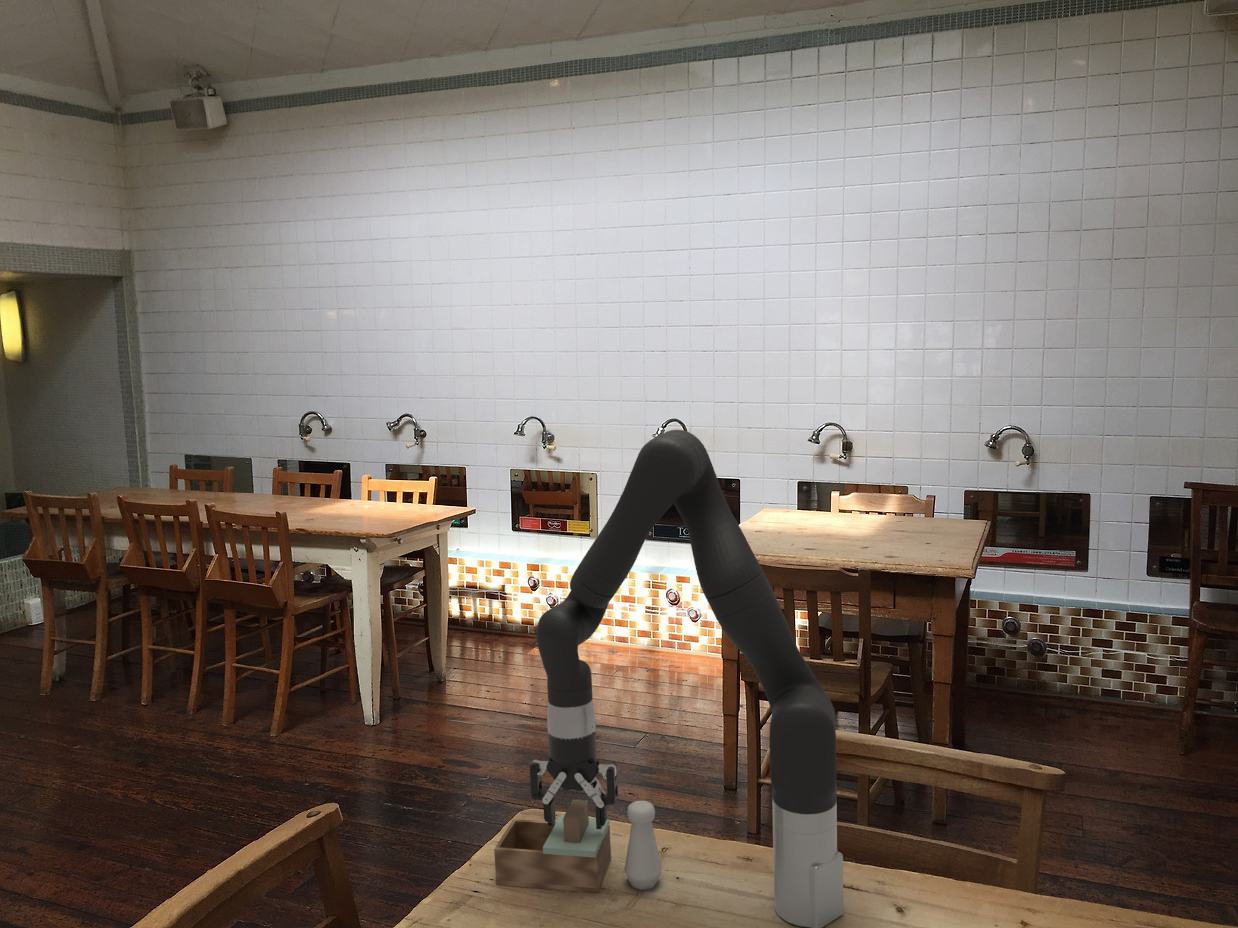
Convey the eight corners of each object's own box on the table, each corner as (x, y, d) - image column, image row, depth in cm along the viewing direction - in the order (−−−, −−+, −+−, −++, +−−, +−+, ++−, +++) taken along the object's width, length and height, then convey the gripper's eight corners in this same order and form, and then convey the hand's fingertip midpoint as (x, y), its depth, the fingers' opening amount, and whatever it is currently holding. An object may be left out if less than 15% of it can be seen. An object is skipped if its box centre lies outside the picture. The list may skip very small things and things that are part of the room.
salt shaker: (647, 897, 144) (644, 817, 142) (617, 885, 147) (614, 807, 145) (669, 879, 148) (666, 801, 147) (639, 868, 152) (636, 792, 150)
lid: (609, 824, 154) (608, 795, 153) (595, 857, 144) (594, 826, 144) (560, 821, 156) (558, 792, 155) (543, 853, 146) (541, 823, 145)
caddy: (611, 859, 155) (609, 825, 154) (598, 892, 145) (596, 856, 145) (515, 852, 158) (513, 818, 157) (496, 884, 149) (494, 848, 148)
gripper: (520, 734, 146) (526, 833, 148) (610, 738, 143) (614, 840, 145) (534, 715, 153) (539, 810, 155) (620, 719, 150) (624, 816, 152)
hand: (575, 824), depth 150 cm, fingers open, 7 cm apart
